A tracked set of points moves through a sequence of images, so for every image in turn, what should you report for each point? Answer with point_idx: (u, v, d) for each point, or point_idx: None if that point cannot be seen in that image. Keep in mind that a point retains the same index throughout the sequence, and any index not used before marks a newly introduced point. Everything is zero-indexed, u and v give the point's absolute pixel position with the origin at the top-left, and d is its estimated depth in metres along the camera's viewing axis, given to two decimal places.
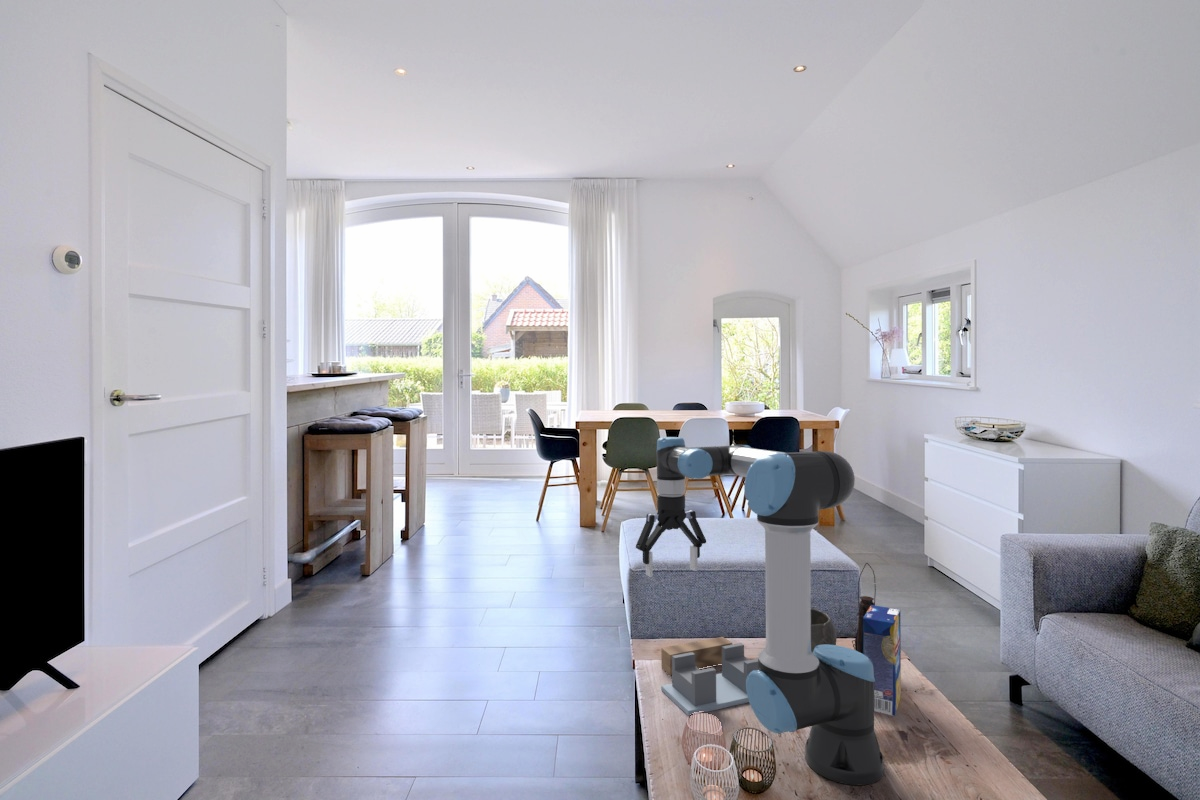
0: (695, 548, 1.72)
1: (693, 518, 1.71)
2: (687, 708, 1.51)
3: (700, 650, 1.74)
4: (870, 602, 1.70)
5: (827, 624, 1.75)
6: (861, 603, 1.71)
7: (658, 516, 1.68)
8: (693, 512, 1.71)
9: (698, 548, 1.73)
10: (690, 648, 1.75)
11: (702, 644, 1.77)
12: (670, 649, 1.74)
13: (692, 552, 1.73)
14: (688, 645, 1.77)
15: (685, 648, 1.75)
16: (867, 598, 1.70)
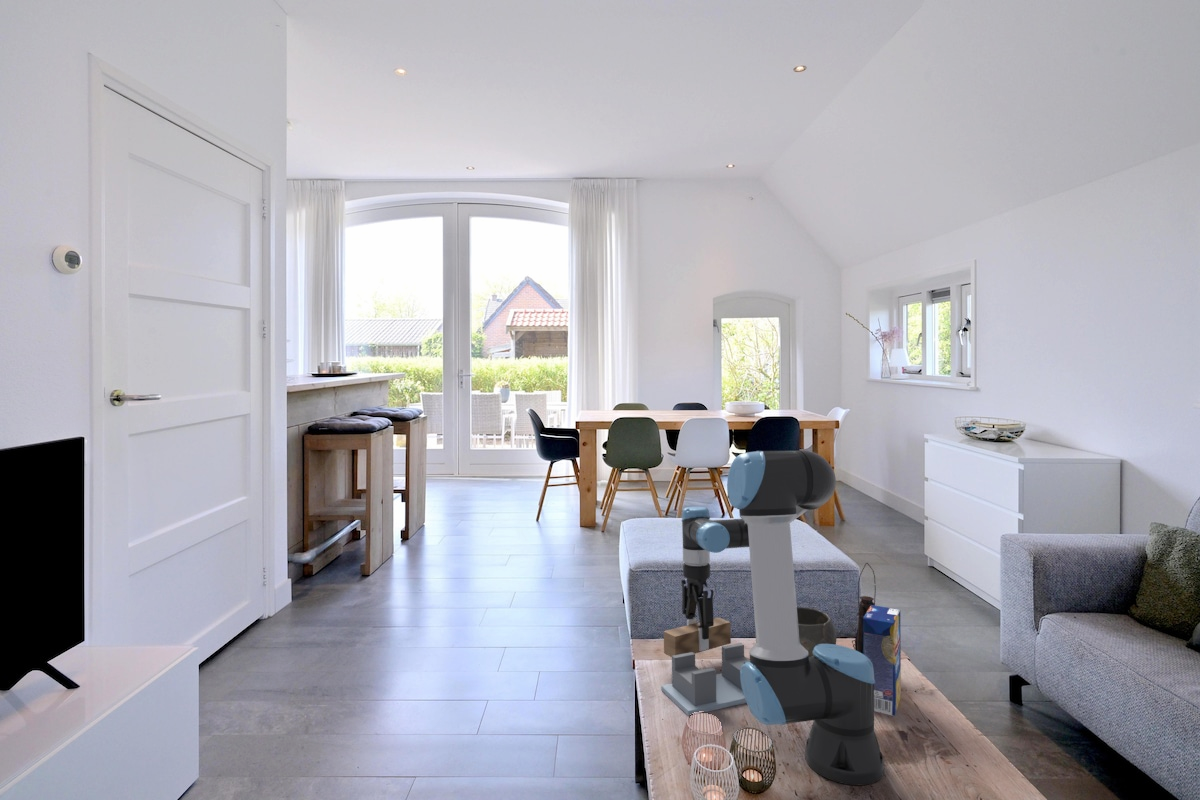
0: (699, 627, 1.73)
1: (703, 597, 1.71)
2: (687, 708, 1.51)
3: None
4: (870, 602, 1.70)
5: (827, 624, 1.75)
6: (861, 603, 1.71)
7: None
8: (704, 592, 1.70)
9: (703, 629, 1.72)
10: (692, 629, 1.74)
11: None
12: (672, 631, 1.73)
13: None
14: (689, 627, 1.76)
15: (687, 630, 1.74)
16: (867, 598, 1.70)
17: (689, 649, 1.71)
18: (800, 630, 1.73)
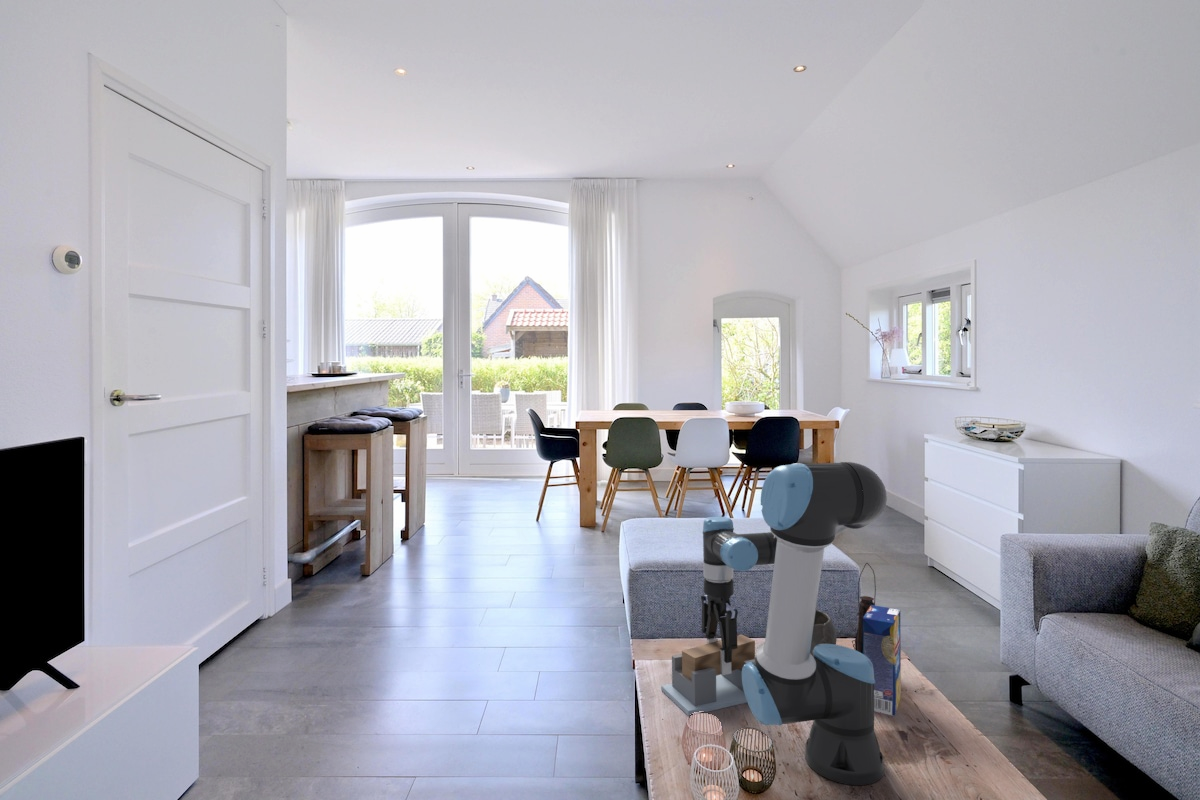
0: (721, 649, 1.58)
1: (726, 617, 1.55)
2: (687, 708, 1.51)
3: None
4: (870, 602, 1.70)
5: (827, 624, 1.75)
6: (861, 603, 1.71)
7: None
8: (728, 612, 1.55)
9: (726, 652, 1.57)
10: (713, 649, 1.59)
11: None
12: (691, 651, 1.58)
13: None
14: (709, 646, 1.61)
15: (707, 650, 1.58)
16: (867, 598, 1.70)
17: None
18: None
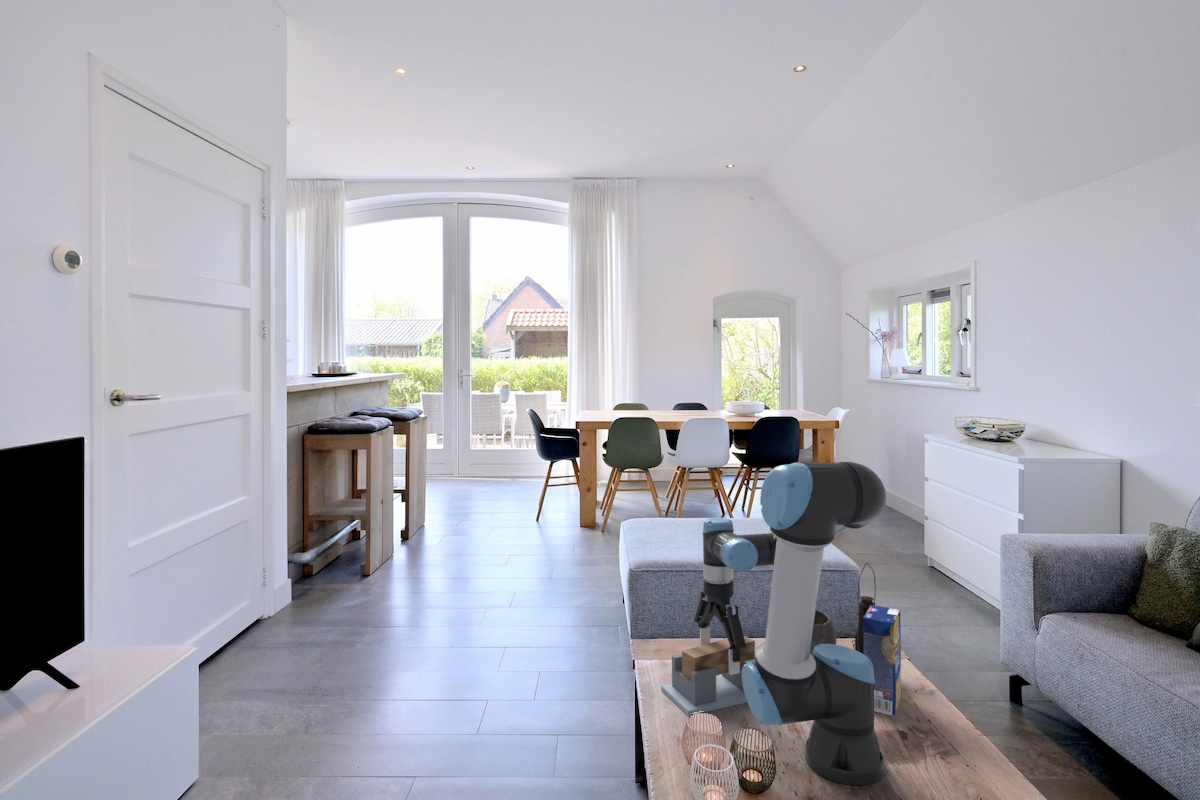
0: (729, 649, 1.54)
1: (728, 614, 1.54)
2: (687, 708, 1.51)
3: (724, 650, 1.59)
4: (870, 602, 1.70)
5: (827, 624, 1.75)
6: (861, 603, 1.71)
7: None
8: (728, 608, 1.54)
9: (734, 651, 1.53)
10: (713, 649, 1.59)
11: (724, 644, 1.62)
12: (691, 651, 1.58)
13: None
14: (709, 646, 1.61)
15: (707, 650, 1.58)
16: (867, 598, 1.70)
17: None
18: None
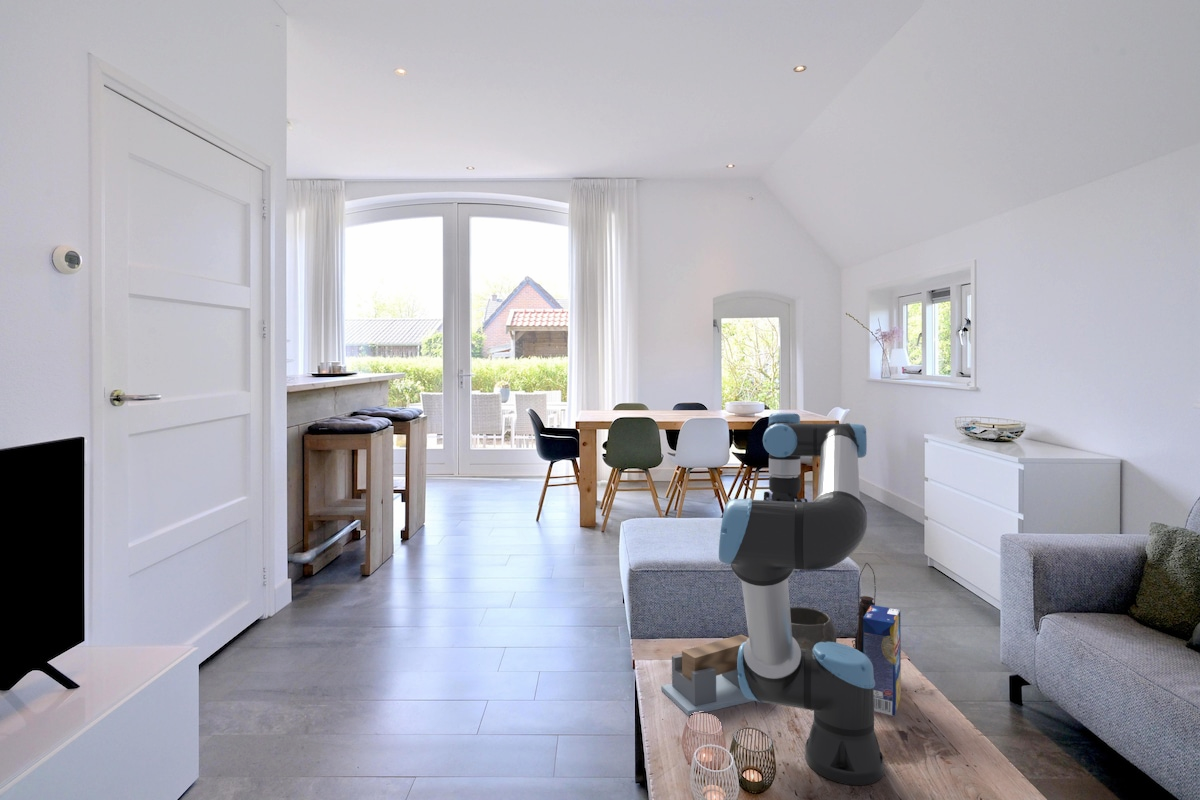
0: None
1: None
2: (687, 708, 1.51)
3: (724, 650, 1.59)
4: (870, 602, 1.70)
5: (827, 624, 1.75)
6: (861, 603, 1.71)
7: None
8: (797, 500, 1.50)
9: None
10: (713, 649, 1.59)
11: (724, 644, 1.62)
12: (691, 651, 1.58)
13: None
14: (709, 646, 1.61)
15: (707, 650, 1.58)
16: (867, 598, 1.70)
17: None
18: (800, 630, 1.73)
